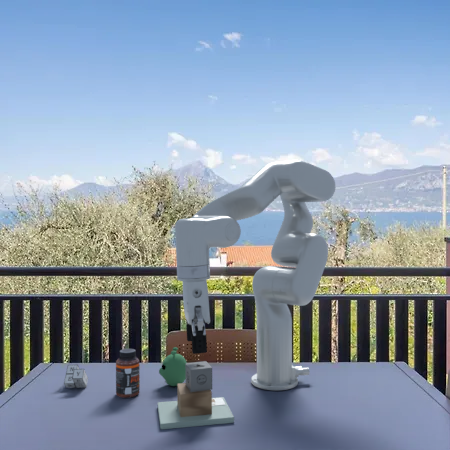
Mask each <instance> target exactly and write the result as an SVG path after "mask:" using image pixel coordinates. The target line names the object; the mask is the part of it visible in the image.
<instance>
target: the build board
mask: <svg viewBox="0 0 450 450" xmlns="http://www.w3.org/2000/svg"><path fill="white" fill-rule="evenodd" d="M157 411H158V421H159V426H160V427H159V428H160V430H168V429H170V430H171V429H180V428H190V427H199V426H200V427H201V426H203V427H204V426H210V425H223V424H231V423H233V424H234V423H235V416H234V414H233V412H232V410H231V408H230V406H229V405H228V403H227V400H226V399H225V397H224V396H217V397H212V414H210V415H199V416H188V417H180V413H179V409H178V402H177V400H173V401H172V400H171V401H169V400H168V401H161V402H160V401H157Z"/></svg>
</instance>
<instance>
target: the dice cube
mask: <svg viewBox="0 0 450 450" xmlns="http://www.w3.org/2000/svg"><path fill="white" fill-rule="evenodd" d="M185 370H186V379H185V383H186V386H187V387H188V389H189V390H190V392H197V391H205V390H211V391H212V390H213V367H212V366H211V365H210V364H209V363H208V362H207V361H206V360H203V361H196V362H187V363H185Z"/></svg>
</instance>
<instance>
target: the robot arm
mask: <svg viewBox="0 0 450 450" xmlns="http://www.w3.org/2000/svg"><path fill="white" fill-rule="evenodd" d="M335 192H336V181H335V178H334V176H333V175H332V174H331V173H330V172H329V171H327V170H326V169H323V168H321V167H319V166H316V165H314V164H312V163H309V162H306V161H303V160H300V159H299V160H298V159H292V160H283V161H274V162H270V163H267V164H265V165H264V166H262V167H261V169H259V170H258V171H257V172H256V173H254V175H252V176H251V177H250V178H249V179H248V180H247V181H245V182H244V183H243V184H242V185H241V186H240V187H238V188H236V189H233V190H231V191H230V192H227V193H226V194H224V195H221V196H219V197H218V198H216V199H214V200H212V201H210V202H209V203H207V204H205V205H204V206H203V207H201V209H200V210H198V211H197V212H196V213H194V214H193V215H192V216H191V218H181V219H178V220H176V221H175V225H174V231H175V232H174V234H175V235H174V236H175V253H176V258H175V259H176V278H177V279H176V280H177V281H180V282H182V298H183V299H182V302H183V311H184V312H183V313H184V317H185V319H186V340H187V342H191V352H192V355H197V354H205V353H207V352H208V349H207V348H208V347H207V346H208V345H207V343H208V342H207V340H208V339H207V332H206V324H207V325H209V324H210V323H211V315H210V302H209V301H210V298H209V290H208V289H209V288H208V283H207V281H208V280H210V279H211V267H210V266H211V265H210V264H211V263H210V248H221V249H222V248H223V249H225V248H226V249H227V248H230V247H232V246H234V245H235V244H236V243H237V242H238V241H239V239H240V237H241V233H242V229H241V227H240V224H239V222H238V221H241V220H245V219H249V218H252V217H255V216H257V215H260V214H261V213H263V212H264V210H265V209H267V208H268V207H269V206H270V205H271V204H272V203H273V202H274V201H275V200H276V199H277V198H278V197H280V199H281V203H282V206H283V211H284V214H283V215H284V216H283V221H282V222H281V225H280V228H279V230H278V232H277V234H276V237H275V239H274V242H273V244H272V247H271V251H270V254H271V259H272V261H273V262H274V263H275V264H277V265H278V266H275V265H268V266H263V267H261V268H260V269H258V270H256V272H255V274H254V275H253V278H252V291H253V298H254V302H255V311H256V312H255V313H256V373H254V374H253V375H252V376H251V377H250V381H251V382H250V383H251V384H252V385H253V386H254V387H256V388H258V389H261V390H266V391H285V390H286V391H287V390H290V389H293V388H296V387H297V386H298V385H299V378H298V377H299V376H310V374H311V373H310V368H309V367H302V365H300V366H294V365H293V344H292V343H293V335H292V331H293V328H292V327H293V319H292V313H291V310H290V308H289V306H288V305H290V306H297V307H299V306H301V307H302V306H303V307H304V306H306V305H308V304H309V303H310V302H312V301H313V299H314V296H315V295H316V292H317V289H318V287H319V285H320V282H321V279H322V276H323V273H324V272H325V268H326V266H327V262H328V257H329V247H328V243H327V241H326V239H325V238H324V236H322V235H320V234H318V233H312V230H313V226H314V220H313V216H312V214H311V212H310V210H309V209H308V207H307V204H306V203H318V202H319V203H320V202H321V203H322V202H326V201H329V200H330V199H331V198H333V196H334V194H335Z"/></svg>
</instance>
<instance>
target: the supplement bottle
mask: <svg viewBox="0 0 450 450" xmlns="http://www.w3.org/2000/svg"><path fill="white" fill-rule="evenodd" d="M140 378H141V377H140V359H139V358H138V357H137V354H136V349H134V348H123V349H120V350H119V357H118V358H117V360H115V395H116V396H117V397H119V398H124V399H130V398H134V397H136V395H137V396H138V395H139V394H140V388H141V387H140V381H141V380H140Z"/></svg>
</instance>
